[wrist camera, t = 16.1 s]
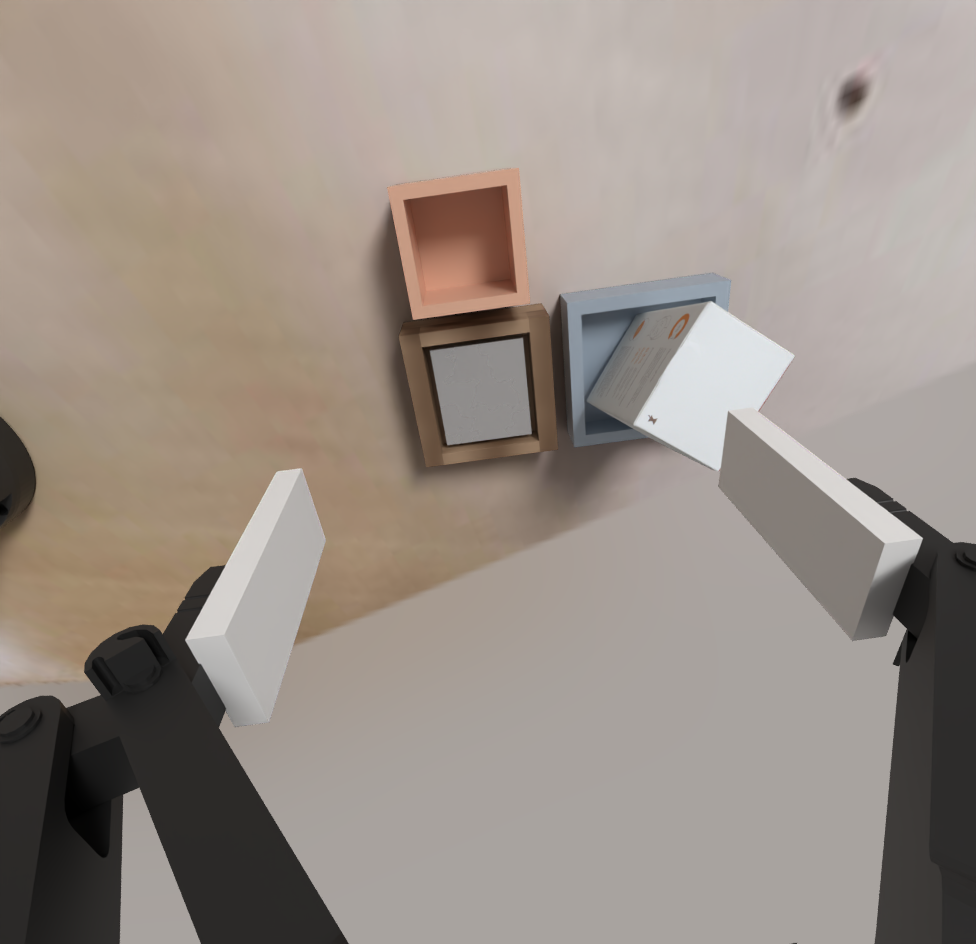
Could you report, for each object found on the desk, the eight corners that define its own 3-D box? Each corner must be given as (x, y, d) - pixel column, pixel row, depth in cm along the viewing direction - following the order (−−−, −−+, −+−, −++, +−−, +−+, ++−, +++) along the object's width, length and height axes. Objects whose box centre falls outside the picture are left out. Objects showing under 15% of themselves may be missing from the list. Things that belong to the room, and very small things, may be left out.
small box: (648, 437, 44) (718, 476, 32) (584, 401, 43) (629, 425, 31) (703, 350, 43) (799, 354, 30) (637, 310, 42) (708, 297, 29)
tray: (567, 431, 47) (574, 447, 45) (560, 294, 41) (567, 303, 39) (701, 413, 47) (716, 428, 44) (713, 272, 41) (731, 280, 38)
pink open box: (418, 300, 41) (413, 319, 36) (397, 184, 37) (387, 187, 32) (520, 286, 41) (530, 303, 36) (510, 168, 37) (518, 168, 32)
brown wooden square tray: (428, 445, 47) (426, 467, 44) (403, 322, 42) (398, 336, 38) (550, 428, 47) (558, 449, 44) (541, 303, 42) (549, 315, 38)
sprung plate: (447, 438, 45) (447, 445, 44) (430, 346, 41) (429, 350, 40) (530, 427, 44) (531, 433, 43) (521, 333, 40) (522, 337, 39)
